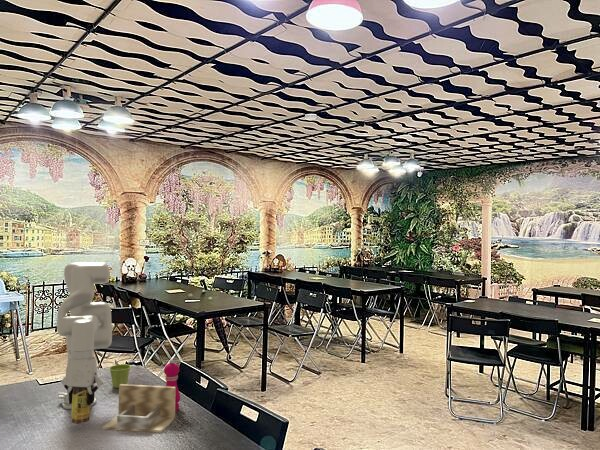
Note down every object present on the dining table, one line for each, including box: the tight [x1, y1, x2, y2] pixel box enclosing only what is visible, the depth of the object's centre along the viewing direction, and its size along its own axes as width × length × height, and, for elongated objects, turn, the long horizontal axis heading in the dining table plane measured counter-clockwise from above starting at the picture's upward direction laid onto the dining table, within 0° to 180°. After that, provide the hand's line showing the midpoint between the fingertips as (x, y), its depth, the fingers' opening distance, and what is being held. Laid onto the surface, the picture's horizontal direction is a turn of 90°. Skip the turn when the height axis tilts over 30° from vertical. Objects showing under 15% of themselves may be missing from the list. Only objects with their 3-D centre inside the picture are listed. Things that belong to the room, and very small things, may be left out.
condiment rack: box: [102, 383, 176, 434], centre depth 173 cm, size 22×13×12 cm, turn 84°
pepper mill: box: [163, 359, 181, 412], centre depth 188 cm, size 7×7×20 cm
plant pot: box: [108, 363, 132, 389], centre depth 215 cm, size 9×9×9 cm
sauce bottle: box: [70, 387, 92, 425], centre depth 169 cm, size 7×6×20 cm
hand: (81, 402), depth 169 cm, fingers closed on sauce bottle, 6 cm apart
